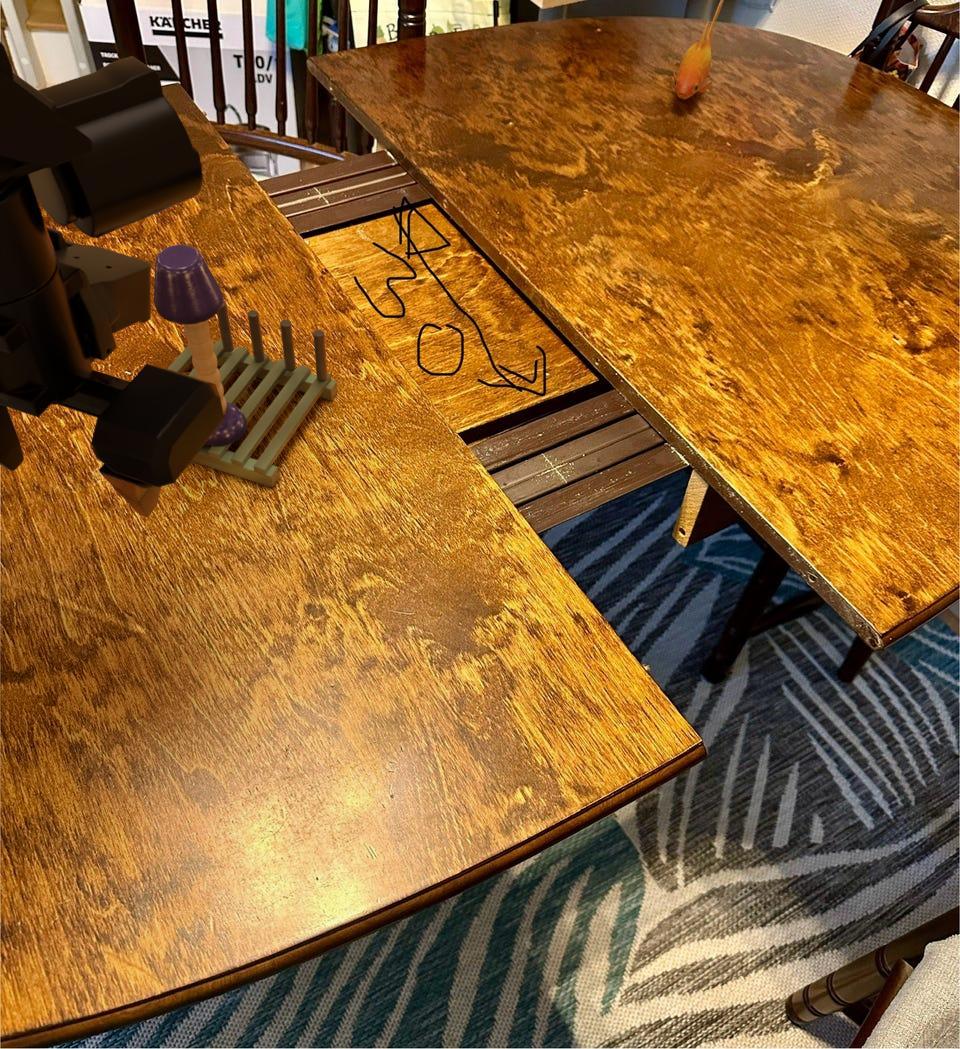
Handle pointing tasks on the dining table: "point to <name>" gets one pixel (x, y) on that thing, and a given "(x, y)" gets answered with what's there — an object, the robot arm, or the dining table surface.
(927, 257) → the dining table surface
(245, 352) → the rack
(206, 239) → the dining table surface
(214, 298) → the toy lamp
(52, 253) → the robot arm
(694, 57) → the fish
